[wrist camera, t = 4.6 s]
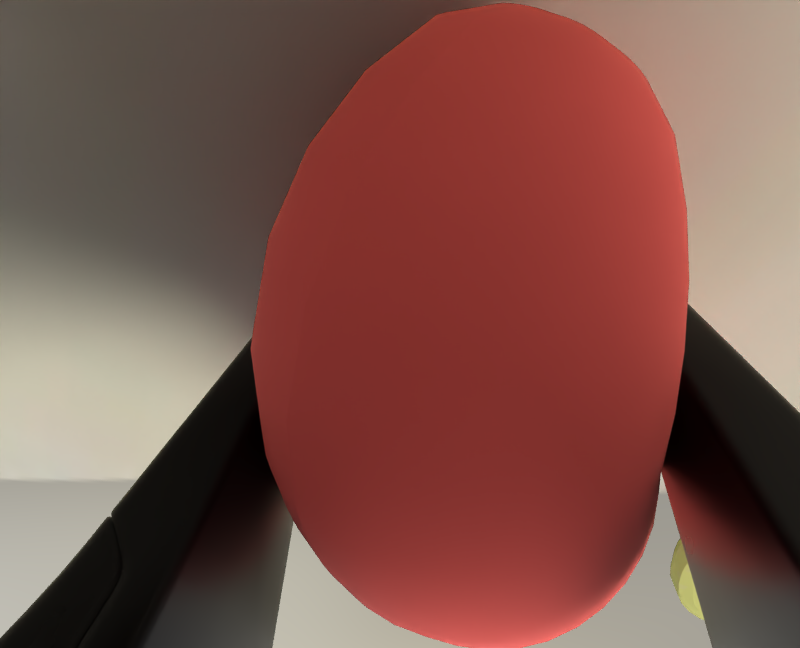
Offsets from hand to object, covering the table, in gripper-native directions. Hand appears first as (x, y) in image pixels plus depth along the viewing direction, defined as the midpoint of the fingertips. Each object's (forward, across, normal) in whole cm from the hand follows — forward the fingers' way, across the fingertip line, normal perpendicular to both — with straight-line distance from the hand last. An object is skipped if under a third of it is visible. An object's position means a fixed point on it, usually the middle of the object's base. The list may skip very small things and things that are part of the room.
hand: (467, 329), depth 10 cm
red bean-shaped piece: (+1, 0, 0) cm, 1 cm away
